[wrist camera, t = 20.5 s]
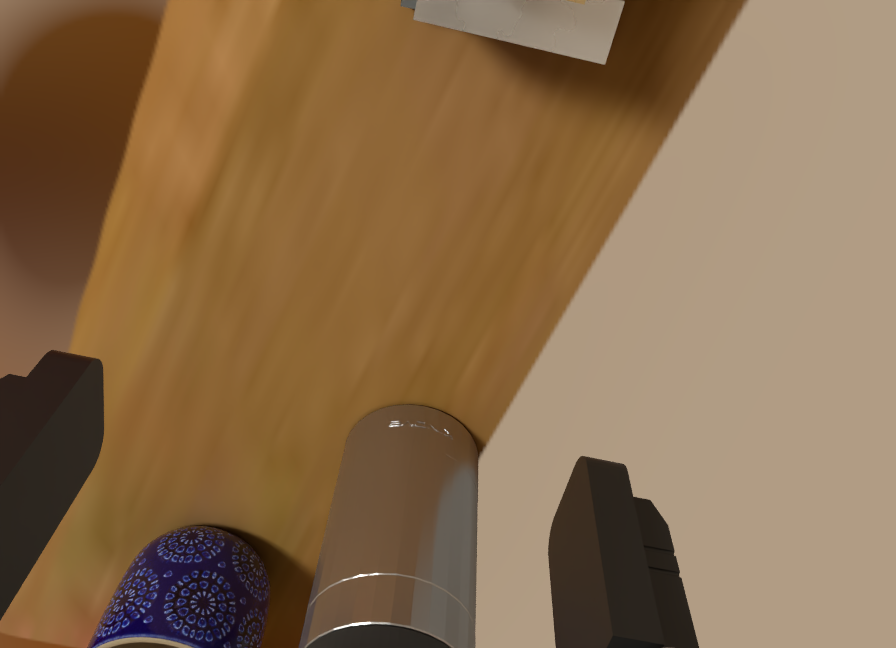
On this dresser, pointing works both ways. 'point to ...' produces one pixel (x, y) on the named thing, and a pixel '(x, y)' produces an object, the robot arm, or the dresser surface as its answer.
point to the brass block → (578, 1)
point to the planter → (189, 595)
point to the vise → (531, 22)
